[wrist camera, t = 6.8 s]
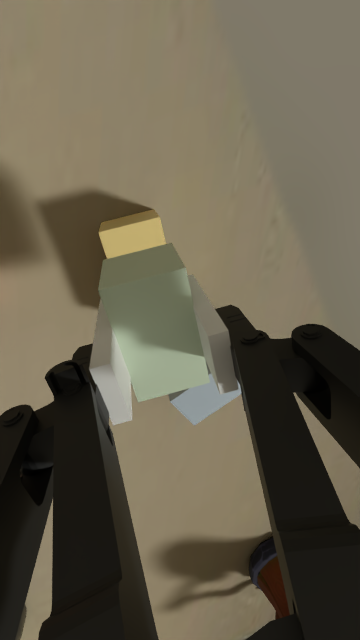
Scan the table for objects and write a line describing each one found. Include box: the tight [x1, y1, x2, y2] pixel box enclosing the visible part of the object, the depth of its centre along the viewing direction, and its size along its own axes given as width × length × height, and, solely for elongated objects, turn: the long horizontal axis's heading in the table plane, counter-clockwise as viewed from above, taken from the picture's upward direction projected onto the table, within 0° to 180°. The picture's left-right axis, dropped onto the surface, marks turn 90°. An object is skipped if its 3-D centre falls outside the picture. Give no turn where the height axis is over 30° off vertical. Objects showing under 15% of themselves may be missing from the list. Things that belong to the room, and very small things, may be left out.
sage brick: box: [98, 243, 210, 402], centre depth 16 cm, size 6×4×4 cm, turn 12°
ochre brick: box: [98, 209, 166, 259], centre depth 24 cm, size 8×4×4 cm, turn 12°
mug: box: [249, 537, 290, 619], centre depth 42 cm, size 18×12×15 cm, turn 167°
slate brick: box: [169, 360, 242, 425], centre depth 29 cm, size 7×4×4 cm, turn 126°
